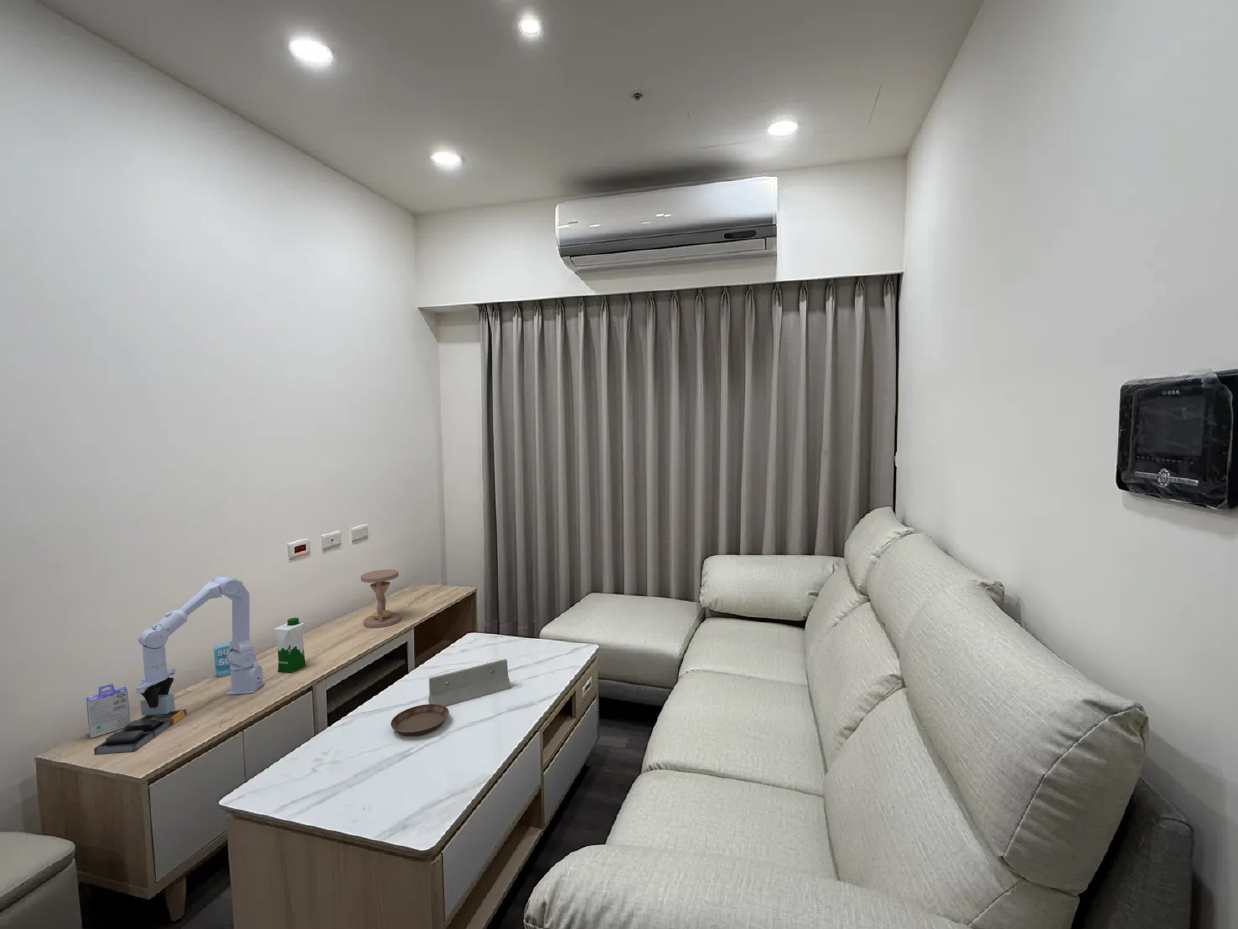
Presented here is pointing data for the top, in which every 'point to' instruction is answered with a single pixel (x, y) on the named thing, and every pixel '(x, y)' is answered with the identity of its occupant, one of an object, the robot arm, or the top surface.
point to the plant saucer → (420, 720)
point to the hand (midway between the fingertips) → (158, 704)
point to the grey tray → (138, 733)
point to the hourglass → (380, 598)
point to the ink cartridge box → (108, 710)
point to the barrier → (469, 683)
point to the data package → (222, 659)
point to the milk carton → (290, 646)
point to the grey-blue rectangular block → (159, 705)
